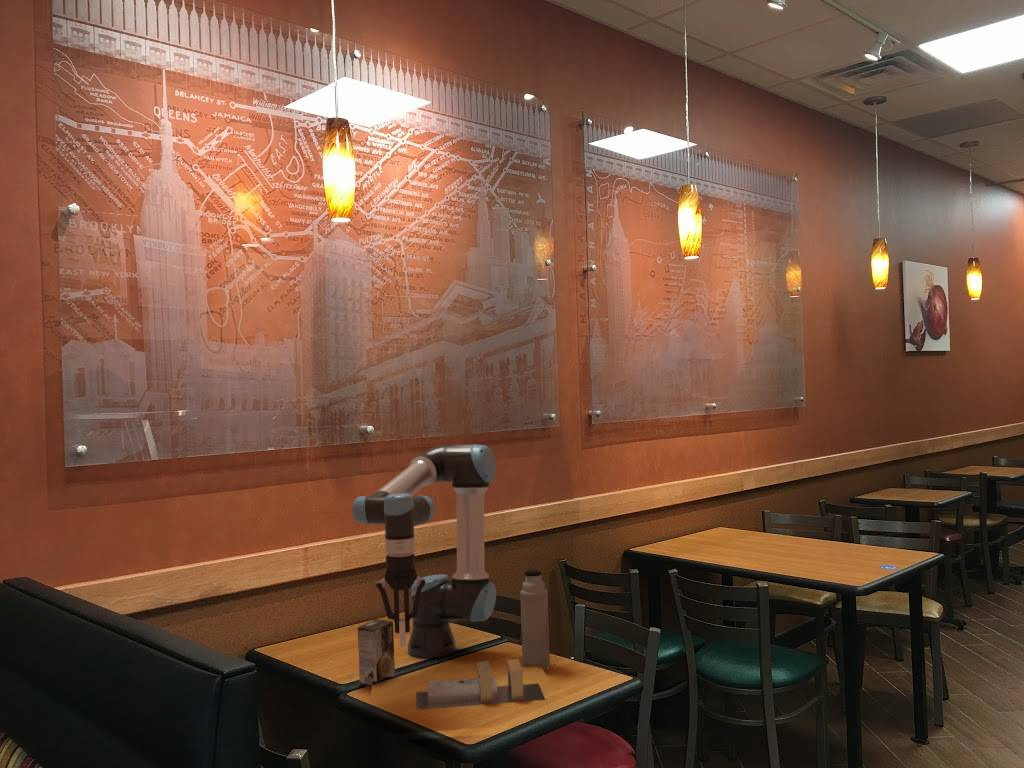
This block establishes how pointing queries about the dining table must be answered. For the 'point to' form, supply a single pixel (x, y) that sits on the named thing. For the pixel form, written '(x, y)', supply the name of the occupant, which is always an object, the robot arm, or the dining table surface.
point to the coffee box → (376, 651)
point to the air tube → (457, 690)
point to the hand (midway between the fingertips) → (402, 644)
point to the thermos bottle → (534, 621)
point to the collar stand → (504, 693)
